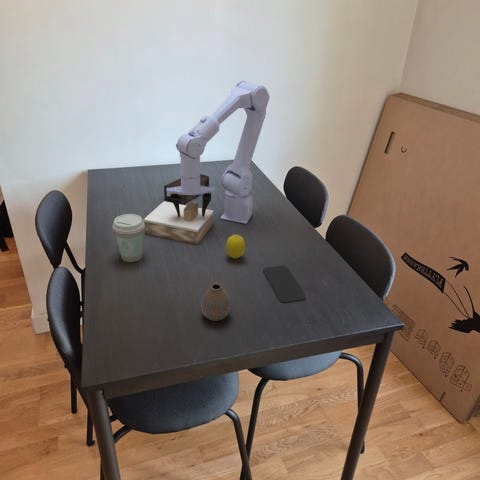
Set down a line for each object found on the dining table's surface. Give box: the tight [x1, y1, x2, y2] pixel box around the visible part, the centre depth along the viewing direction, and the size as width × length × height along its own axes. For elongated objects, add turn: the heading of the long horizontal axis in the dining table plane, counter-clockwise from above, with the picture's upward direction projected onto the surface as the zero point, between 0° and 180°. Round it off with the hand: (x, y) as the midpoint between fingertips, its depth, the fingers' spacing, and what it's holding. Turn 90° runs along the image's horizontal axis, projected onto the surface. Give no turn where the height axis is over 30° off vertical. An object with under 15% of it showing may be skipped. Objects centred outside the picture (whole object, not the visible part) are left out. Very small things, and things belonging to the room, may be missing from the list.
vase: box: [200, 283, 231, 322], centre depth 91 cm, size 7×7×9 cm
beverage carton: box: [163, 173, 210, 205], centre depth 148 cm, size 8×19×7 cm, turn 149°
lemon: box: [225, 233, 246, 259], centre depth 112 cm, size 6×6×8 cm
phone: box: [262, 265, 307, 304], centre depth 105 cm, size 7×1×15 cm
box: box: [143, 213, 214, 245], centre depth 126 cm, size 18×14×4 cm
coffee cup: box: [112, 213, 145, 263], centre depth 109 cm, size 8×9×12 cm
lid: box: [143, 200, 214, 232], centre depth 124 cm, size 18×14×5 cm
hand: (191, 215), depth 123 cm, fingers open, 7 cm apart
